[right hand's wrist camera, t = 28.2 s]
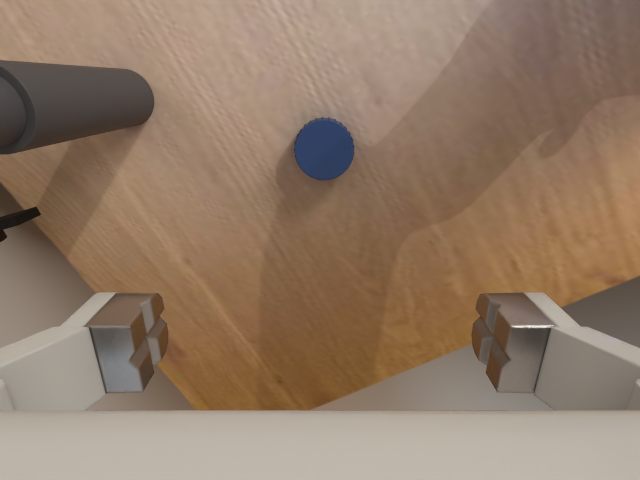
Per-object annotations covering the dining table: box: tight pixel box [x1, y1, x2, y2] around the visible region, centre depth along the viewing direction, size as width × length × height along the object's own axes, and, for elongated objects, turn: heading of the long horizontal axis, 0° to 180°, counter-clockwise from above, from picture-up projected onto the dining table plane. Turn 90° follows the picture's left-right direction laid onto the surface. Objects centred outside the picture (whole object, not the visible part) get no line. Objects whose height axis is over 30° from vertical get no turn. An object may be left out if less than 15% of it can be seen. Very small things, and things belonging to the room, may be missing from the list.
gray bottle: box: [0, 60, 154, 154], centre depth 27 cm, size 5×5×18 cm
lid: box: [294, 117, 354, 180], centre depth 36 cm, size 5×5×2 cm
